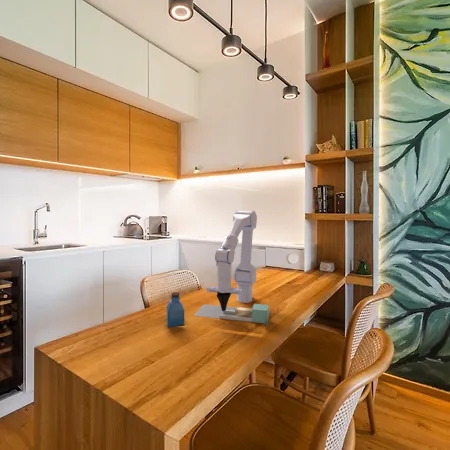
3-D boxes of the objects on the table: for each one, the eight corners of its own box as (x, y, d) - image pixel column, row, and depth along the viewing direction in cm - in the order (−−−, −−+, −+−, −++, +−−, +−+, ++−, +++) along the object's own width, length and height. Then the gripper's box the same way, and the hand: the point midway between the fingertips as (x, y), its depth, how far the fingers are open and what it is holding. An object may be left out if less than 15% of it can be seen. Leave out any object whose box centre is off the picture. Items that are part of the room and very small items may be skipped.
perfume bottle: (167, 327, 109) (167, 296, 108) (166, 321, 115) (166, 291, 114) (184, 325, 111) (184, 295, 110) (182, 319, 116) (182, 290, 116)
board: (203, 306, 132) (203, 293, 132) (269, 313, 125) (270, 299, 125) (193, 317, 118) (193, 303, 118) (266, 326, 111) (267, 310, 111)
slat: (235, 318, 116) (235, 309, 116) (236, 315, 119) (236, 307, 119) (264, 321, 114) (265, 312, 113) (265, 318, 116) (265, 309, 116)
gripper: (204, 279, 116) (204, 311, 117) (240, 281, 113) (239, 315, 114) (209, 274, 123) (209, 306, 124) (243, 277, 119) (242, 309, 120)
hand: (223, 310), depth 119 cm, fingers closed
